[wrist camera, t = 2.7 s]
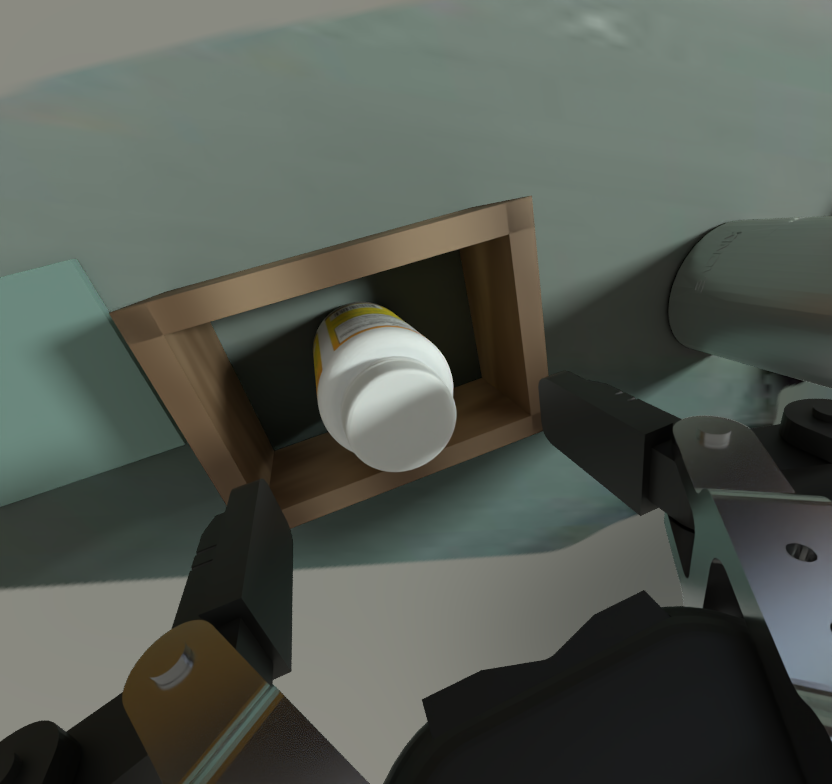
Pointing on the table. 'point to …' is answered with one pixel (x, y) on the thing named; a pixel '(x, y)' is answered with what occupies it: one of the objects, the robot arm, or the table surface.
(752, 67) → the table surface
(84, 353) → the mat
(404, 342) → the supplement bottle
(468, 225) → the box
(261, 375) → the table surface
